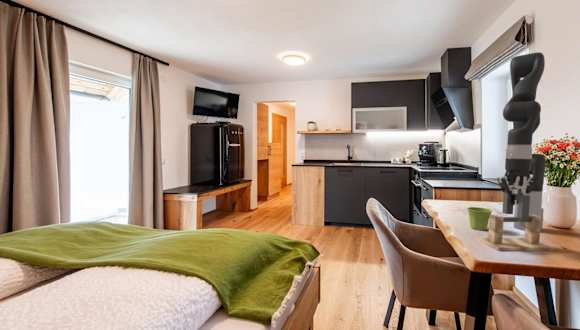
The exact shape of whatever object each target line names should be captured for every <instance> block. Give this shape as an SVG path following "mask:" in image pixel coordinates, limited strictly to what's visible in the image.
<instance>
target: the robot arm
mask: <svg viewBox="0 0 580 330" xmlns="http://www.w3.org/2000/svg"><path fill="white" fill-rule="evenodd" d="M545 61H546V60H545V56H544V54H543V53H542V52H532V53H527V54H523V55H517V56H513V57H511V60H510V61H509V62H510V64H509V72H510V81H511V91H512V95H511V98H510V99H509V101H507V103H506V104H505V106H504V108H503V111H502V116H503V119H504V120H506V121H507V122H510V123H512V125H513V127H512V128H511V129H509V130H508V132H507V145H506V150H505V163H504V165H505V166H504V169H505V171H506V172H505V173H504V176H502V177H497V182H498V184H499V187H500V189H501V191H502V193H504V192H505V193H507V194H508V204H509V205H513V206H514V211H513V214H514V216H513V217H517V211H518V201H517V200H515V193H517V194H522V195H527V196H530V204H529V215H537V216H540V217H541V225H540V231H543V225H544V208H543V205H542V203H543V192H544V191H543V190H544V182H545V181H544V180H545V174H546V166H547V165H546V164H547V160H546V157H545V155H544V154H542V153H533V134H534V133H535V132H536V131H537V129H538V128H539V126H540V124H541V112H542V107H541V105H540V103H539V102H538V101H536V97H537V90H538V86H539V83H540V81H541V79H542V76H543V74H544V71H545V65H546V63H545ZM525 226H526V222H513V227H514V228H516V229H519V230H522V231H525Z"/></svg>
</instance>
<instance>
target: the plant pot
mask: <svg viewBox="0 0 580 330" xmlns="http://www.w3.org/2000/svg"><path fill="white" fill-rule="evenodd" d="M466 210H467V212H468V217H469V226H470V229H473V230H476V231H487V229H488V226H489V217H490V215H492V213H493V210H492V209H490V208H485V207H479V206H477V207H476V206H469V207H466Z"/></svg>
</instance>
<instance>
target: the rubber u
mask: <svg viewBox="0 0 580 330" xmlns="http://www.w3.org/2000/svg"><path fill="white" fill-rule="evenodd" d="M502 198H503V199H502V214H505V215H513V214H514V205H509V204H508V194H507V193H505V192H503V197H502ZM515 200H517V201H518V211H517V217H518V218H521V219H529V204H530V196H527V195H522V194H517V193H516V192H515Z"/></svg>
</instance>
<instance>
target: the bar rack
mask: <svg viewBox="0 0 580 330" xmlns="http://www.w3.org/2000/svg"><path fill="white" fill-rule="evenodd" d="M514 222H526V226H525V230H524V237H504V236H503V231H504V223H514ZM540 225H541V217H540V216H537V215H529V219H521V218H518V217H514V216H503V215H499V214H491V215H490V217H489V221H488V234H487V235H488V236H487V237H476V241H477V242H479V243H481V244H483V245H485V246H487V247H489V248H491V249H494V250H496V251H500V252H501V251H504V252H505V251H506V252H507V251H554V247H553V246H550V245H548V244H546V243H545V244H544V243H542V242H540V240H541V238H540V236H541V230H540Z"/></svg>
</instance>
